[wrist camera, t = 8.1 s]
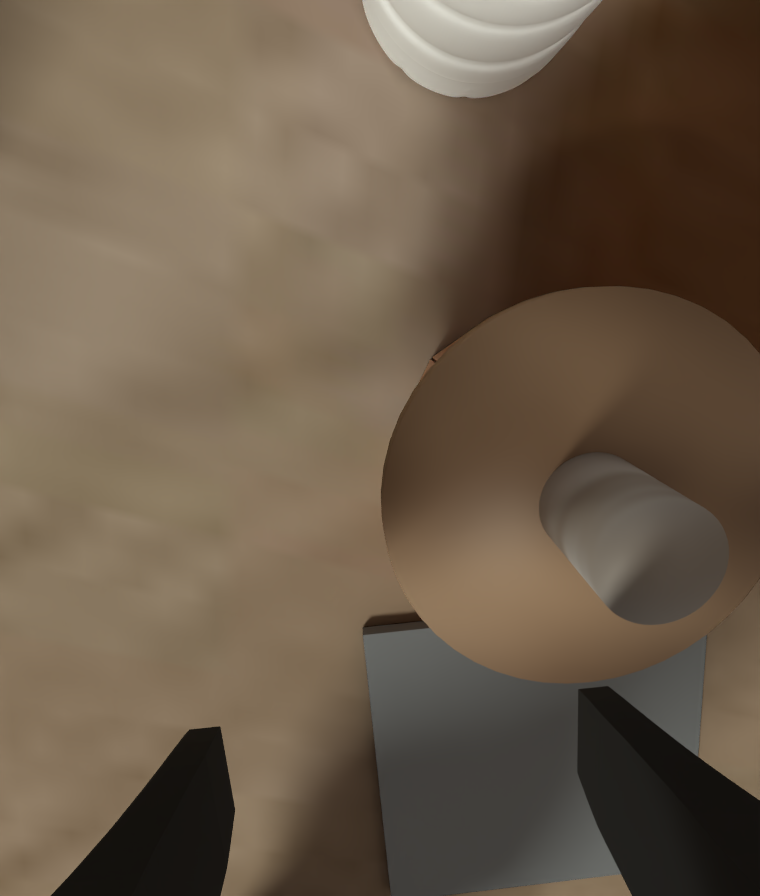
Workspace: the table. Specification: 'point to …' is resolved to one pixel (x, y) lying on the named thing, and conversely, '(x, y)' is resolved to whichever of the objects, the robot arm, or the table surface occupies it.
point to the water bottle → (474, 40)
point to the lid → (579, 484)
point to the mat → (495, 763)
